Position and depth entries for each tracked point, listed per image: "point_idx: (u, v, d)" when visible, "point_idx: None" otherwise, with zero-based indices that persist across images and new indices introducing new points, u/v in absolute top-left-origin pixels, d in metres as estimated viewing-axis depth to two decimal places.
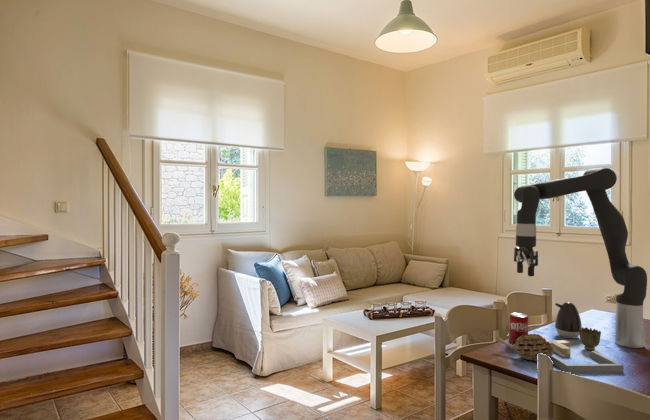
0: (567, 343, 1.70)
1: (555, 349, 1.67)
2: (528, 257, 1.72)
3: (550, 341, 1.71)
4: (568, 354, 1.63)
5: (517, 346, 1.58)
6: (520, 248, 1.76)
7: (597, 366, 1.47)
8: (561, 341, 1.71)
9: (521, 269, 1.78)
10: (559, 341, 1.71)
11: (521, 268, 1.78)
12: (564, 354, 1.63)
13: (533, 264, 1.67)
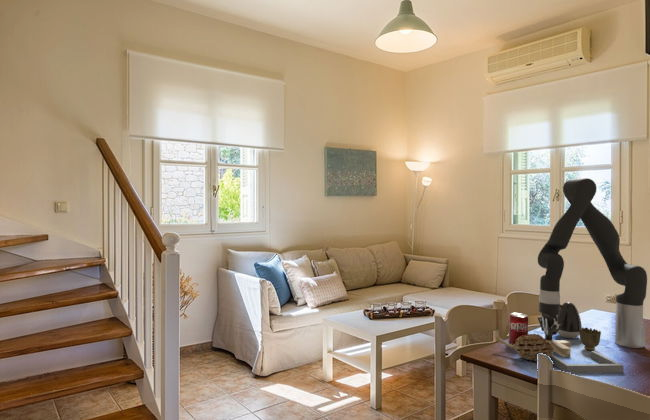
0: (567, 343, 1.70)
1: (555, 349, 1.67)
2: None
3: (550, 341, 1.71)
4: (568, 354, 1.62)
5: (517, 346, 1.58)
6: (543, 314, 1.76)
7: (597, 366, 1.47)
8: (561, 341, 1.71)
9: None
10: (559, 341, 1.71)
11: None
12: (564, 354, 1.62)
13: (551, 333, 1.71)
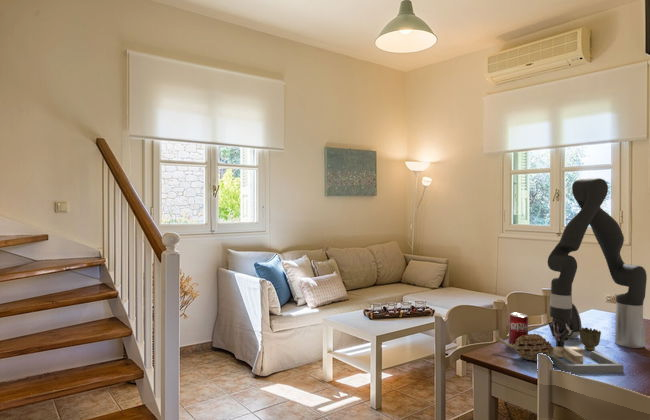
0: (580, 350, 1.62)
1: (567, 356, 1.59)
2: None
3: (562, 347, 1.63)
4: (581, 362, 1.55)
5: (517, 346, 1.58)
6: (554, 319, 1.68)
7: (597, 366, 1.47)
8: (573, 348, 1.63)
9: None
10: (571, 348, 1.63)
11: None
12: (577, 362, 1.55)
13: (563, 339, 1.63)
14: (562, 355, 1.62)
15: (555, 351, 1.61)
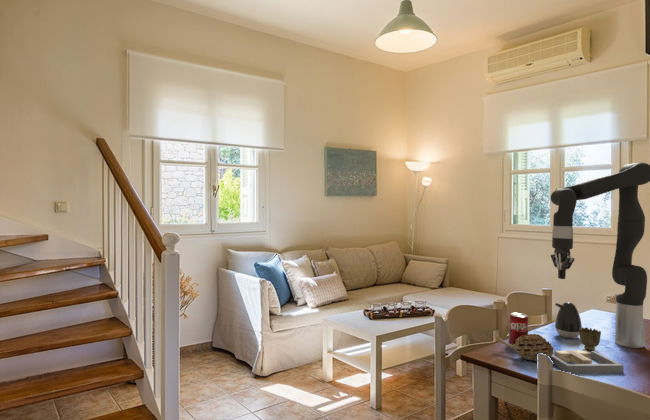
0: (587, 354, 1.58)
1: (575, 360, 1.55)
2: None
3: (569, 352, 1.59)
4: None
5: (517, 346, 1.58)
6: (556, 250, 1.79)
7: (597, 366, 1.47)
8: (580, 352, 1.59)
9: None
10: (579, 352, 1.59)
11: None
12: None
13: (565, 267, 1.74)
14: (569, 359, 1.57)
15: (563, 355, 1.57)
